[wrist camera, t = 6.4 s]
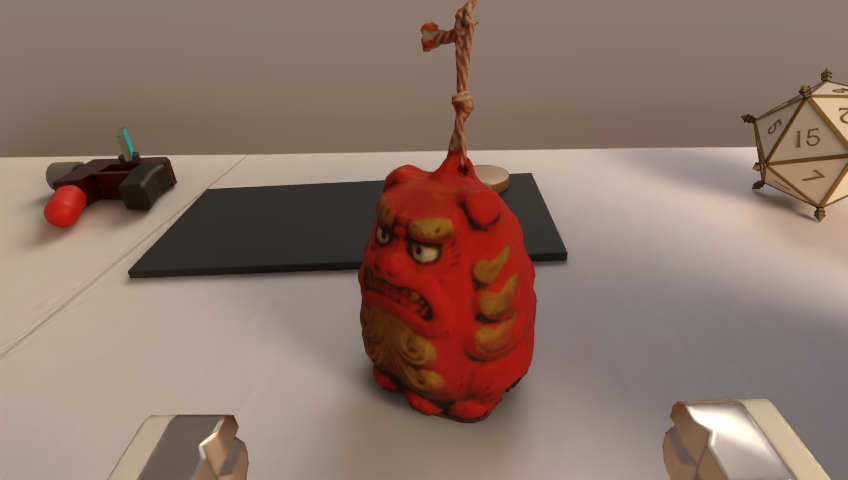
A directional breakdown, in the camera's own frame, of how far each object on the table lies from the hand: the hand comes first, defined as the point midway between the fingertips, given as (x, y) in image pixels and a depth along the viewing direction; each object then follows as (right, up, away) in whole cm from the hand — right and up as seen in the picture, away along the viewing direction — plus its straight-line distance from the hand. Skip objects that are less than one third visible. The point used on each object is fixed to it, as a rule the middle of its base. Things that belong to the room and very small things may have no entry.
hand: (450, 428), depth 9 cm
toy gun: (-27, +6, +30) cm, 41 cm away
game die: (+25, +6, +24) cm, 35 cm away
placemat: (-5, +5, +25) cm, 26 cm away
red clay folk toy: (+1, -2, +13) cm, 13 cm away
